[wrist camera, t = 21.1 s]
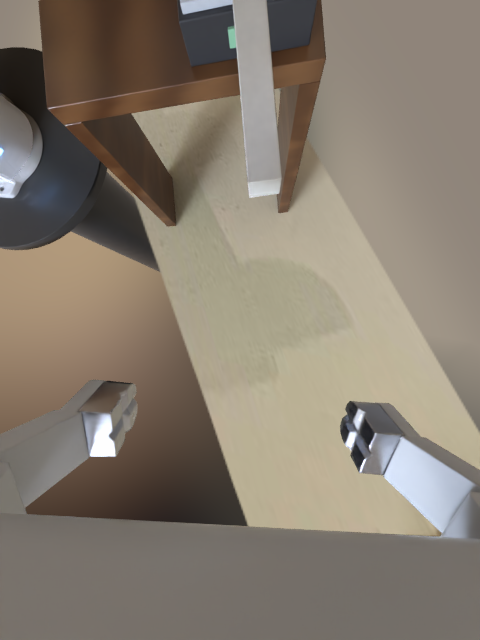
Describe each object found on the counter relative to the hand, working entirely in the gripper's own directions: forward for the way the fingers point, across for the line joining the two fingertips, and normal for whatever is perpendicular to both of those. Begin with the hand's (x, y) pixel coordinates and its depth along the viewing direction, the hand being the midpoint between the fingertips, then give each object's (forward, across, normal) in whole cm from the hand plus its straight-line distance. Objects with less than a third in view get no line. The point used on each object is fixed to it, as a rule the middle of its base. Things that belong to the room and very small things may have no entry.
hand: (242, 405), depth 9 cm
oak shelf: (+36, +4, -12) cm, 38 cm away
